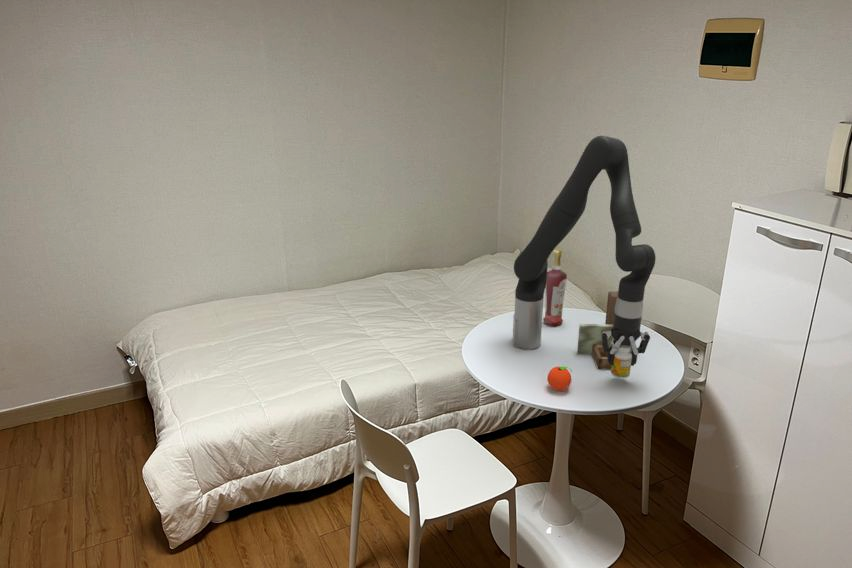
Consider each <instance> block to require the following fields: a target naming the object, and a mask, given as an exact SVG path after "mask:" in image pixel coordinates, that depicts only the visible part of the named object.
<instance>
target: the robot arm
mask: <svg viewBox="0 0 852 568" xmlns="http://www.w3.org/2000/svg"><path fill="white" fill-rule="evenodd" d="M602 170H603V171H605V172H606V174H607V177H608V179H609V184H610V191H611V192H610V193H611V194H610V201H609V203H610V204H609V214H610V218H611V223H612V226H613V230H614V233H615V262H616V265H617V266H618V268H619V269H620V270H621V271H623V272H625V273H626V272H627V273H628V272H629V273H628V274H627V275H625V276H623V277H621V279H620V280H619V282H618V283H619V284H618V297H617V301H616V306H615V314H614V322H613V328H612V329H611V331H607V332H605V331H604V330H602V331H601V338H602V347H603V349H604V352H608V357H607V358H608V359H607V360H608V362H609V363H610V365H613V362H614V352H615V351H616V349H618V347H619V346H620V345H631V348H632V352H631V353H632V361H631V367H634V366H635V365H636V364H637V359H638V355H639V354H645V352H646V350H647V348H648V344H649V342H650V340H651V335H650V334H649V332H648V331H645V332H642V331H641V326H642V325H641V324H642V318H643V312H644V298H645V296H644V295H645V290H646V285H647V283H648V281H649V279H650V277H651V275H652V272H653V270H654V268H655V265H656V252H655V250H654V248H653V246H651V245H649V244H636V245H633V243H632V241H633V239H634V238H636V237H638V236H639V235H641V233H642V226H641V222H640V218H639V215H638V212H637V211H638V210H637V208H636V205H635V204H636V203H635V200H634V194H633V188H632V181H631V173H630V164H629V155H628V149H627V146H626V144H625V143H624V142H623V141H622V140H621V139H619V138H616V137H612V136H611V137H610V136H608V135H598V136H594V137H593V138H592V139H590V141H589V142H588V143H587V145H586V147H585V148H584V151H583V152H582V154H581V156H580V157H579V160H578V162H577V164H576V165H575V168H574V170H573V171H572V173H571V175H570V176H569V177H568V180H567V181H566V183H565V184H564V186H563V188H562V189H561V190H560V193H559V194H558V195H557V196H556V198H555V199H554V201H553V202H552V204H551V206H550V207H549V209H548V211H547V212H546V214H545V215H544V217H543V219H542V220H541V222H540V225H539V226H538V228H537V230H536V231H535V234H534V235H533V237H532V238H531V240H530V242H529V243H528V244H527V245H526V247H525V248H524V249H523V250H522V251H521V253H520V254H519V255H518V256H516V259H515V260H514V264H513V271H514V275H515V276H516V278H517V279H518V281H517V285H516V286H515V291H514V314H513V322H512V344H513V347H514V348H518V349H521V350H536V349H538V348H540V347H541V342H542V329H543V310H544V298H545V297H544V295H545V287H546V279H547V272H548V265H549V264H548V259H549V258H550V256H551V254H553V253H552V252H554V249H556V248H557V247H558V245H559V244H561V242H562V241H563V240H564V239H565V238H566V236H567V235H569V233H570V232H571V231H572V229H573V228H574V227H575V226H576V224H577V223H578V221H579V219H580V218H581V217H582V216H583V214H584V212H585V210H586V206H587V201H588V195H589V191H590V188H591V186H592V184H593V182H594V181H595V180H596V178H597V177H598V175H599V174H600V173H601V171H602ZM610 335H612V337H613V338H614V339H613V340H612V342H611V345H610V346H609V347H608V343H607V339H609V337H610ZM639 338H640V339H641V340H640V343H639V345H638V347H637V344H636V342H635V341H637V340H638V339H639Z"/></svg>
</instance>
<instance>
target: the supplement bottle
mask: <svg viewBox="0 0 852 568" xmlns="http://www.w3.org/2000/svg"><path fill="white" fill-rule="evenodd" d="M630 350H631V346H630V345H620V346H619V347H618V349H616V351H615V352H614V362H613V365H612V367H611V369H610V374H611V375H612V376H613V377H614V378H617V379H621V380H623V379H627V378H629V377H630V374H631V367H632V366H631V361H632V353H631V352H630Z"/></svg>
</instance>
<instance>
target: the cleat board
mask: <svg viewBox="0 0 852 568" xmlns="http://www.w3.org/2000/svg"><path fill="white" fill-rule="evenodd" d="M612 328H613V325H610V324H605V323H603V324H601V323H600V324H597V323H596V324H595V323H593V324H591V323H590V324H589V323H588V324H587V323H585V324H583V323H579V328H578V337H577V349H576V351H577V355H578V354H579V355H592V358H593V361H594V362H595V366H596V367H597V369H598V370H611V367H612V365H610V363H609V362H608V360H607V359H608V352H604V349H603V347H602V338H601V331H602V330H604V331H605V332H607V331H611V329H612ZM613 339H614V338H613V337H612V335H610V337H609V339H607V343H608V347H609V346H610V345H611V342H612V340H613ZM636 341H637V340H636ZM636 341H635V343H636ZM630 346H631V345H630ZM630 352H632V348H631V350H630Z"/></svg>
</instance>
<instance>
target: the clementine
mask: <svg viewBox="0 0 852 568" xmlns="http://www.w3.org/2000/svg"><path fill="white" fill-rule="evenodd" d="M568 369H570V371H569V370H568ZM571 372H573V371H572V369H571V368H570V367H568V366H555V367H552V368H551V369H550V370H549V371H548V374H547V382H548V385H549V386H550V387H551V389H554V390H555V391H564V390H566V389H568V388H569V387H570V385H571V384H572V375H571Z"/></svg>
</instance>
